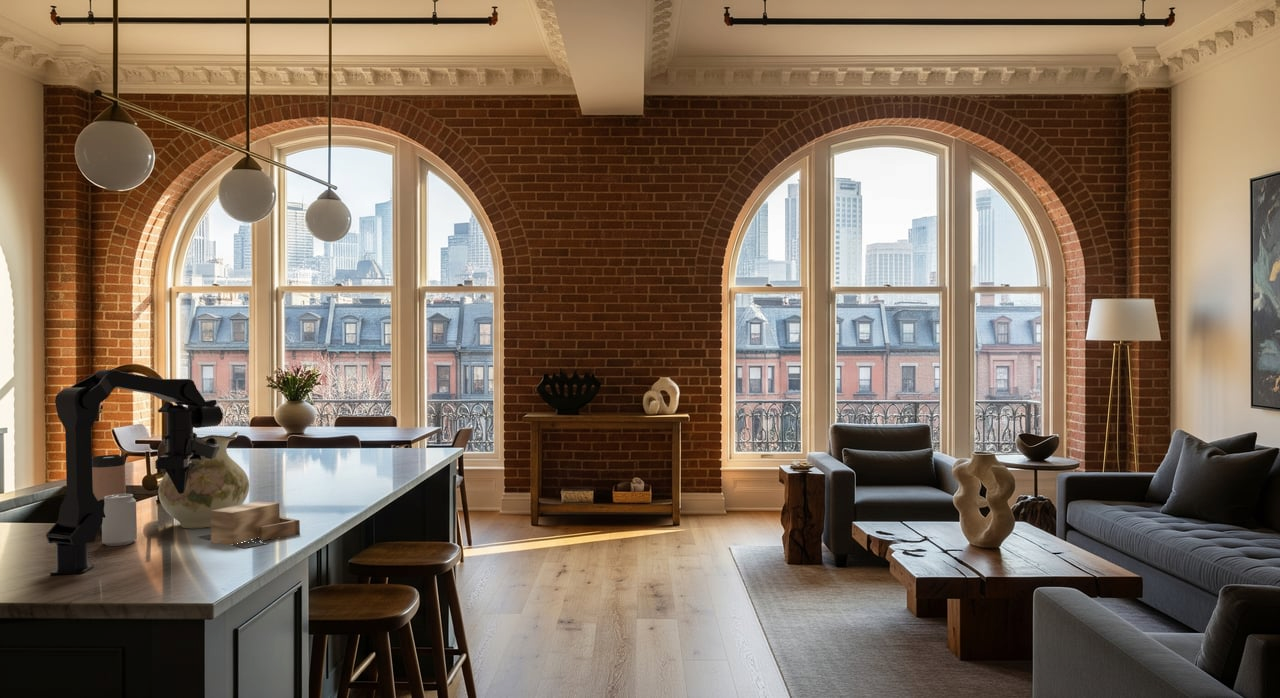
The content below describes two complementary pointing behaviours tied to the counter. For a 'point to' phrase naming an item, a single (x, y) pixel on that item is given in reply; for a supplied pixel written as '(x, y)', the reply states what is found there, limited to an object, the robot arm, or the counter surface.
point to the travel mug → (108, 476)
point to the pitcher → (204, 486)
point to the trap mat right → (248, 544)
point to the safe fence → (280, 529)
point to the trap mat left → (206, 537)
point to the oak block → (242, 521)
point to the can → (119, 520)
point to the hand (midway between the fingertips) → (181, 493)
